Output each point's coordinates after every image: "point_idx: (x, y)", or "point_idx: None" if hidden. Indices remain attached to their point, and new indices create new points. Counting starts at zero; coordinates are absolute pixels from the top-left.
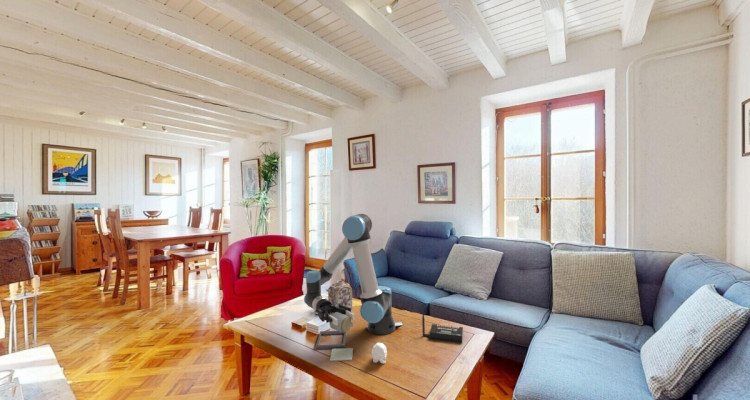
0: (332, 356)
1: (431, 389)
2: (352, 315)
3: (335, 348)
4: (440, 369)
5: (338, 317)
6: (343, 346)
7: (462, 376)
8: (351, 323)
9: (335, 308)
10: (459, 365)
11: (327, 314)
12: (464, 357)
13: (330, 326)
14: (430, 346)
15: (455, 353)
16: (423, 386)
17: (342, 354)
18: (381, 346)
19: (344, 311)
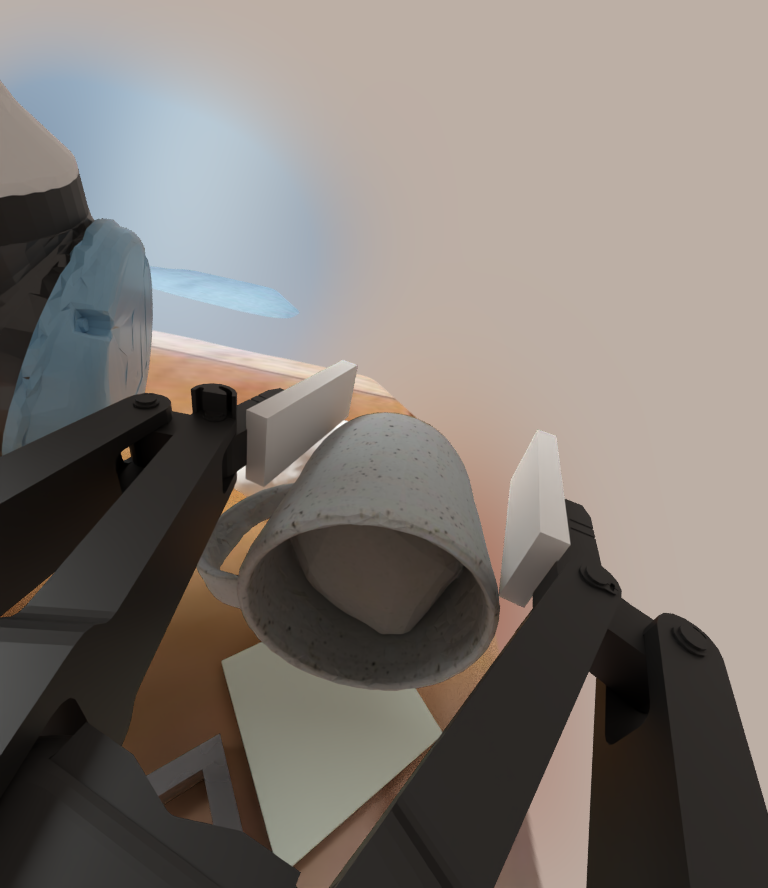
0: (394, 749)
1: (381, 396)
2: (351, 378)
3: None
4: (295, 383)
5: (451, 469)
6: (223, 749)
7: (307, 364)
8: (230, 519)
9: (93, 662)
10: (262, 362)
11: (571, 599)
12: (218, 353)
13: (457, 662)
14: (153, 391)
15: (198, 360)
16: (379, 404)
17: (336, 684)
18: (344, 420)
19: (218, 469)
